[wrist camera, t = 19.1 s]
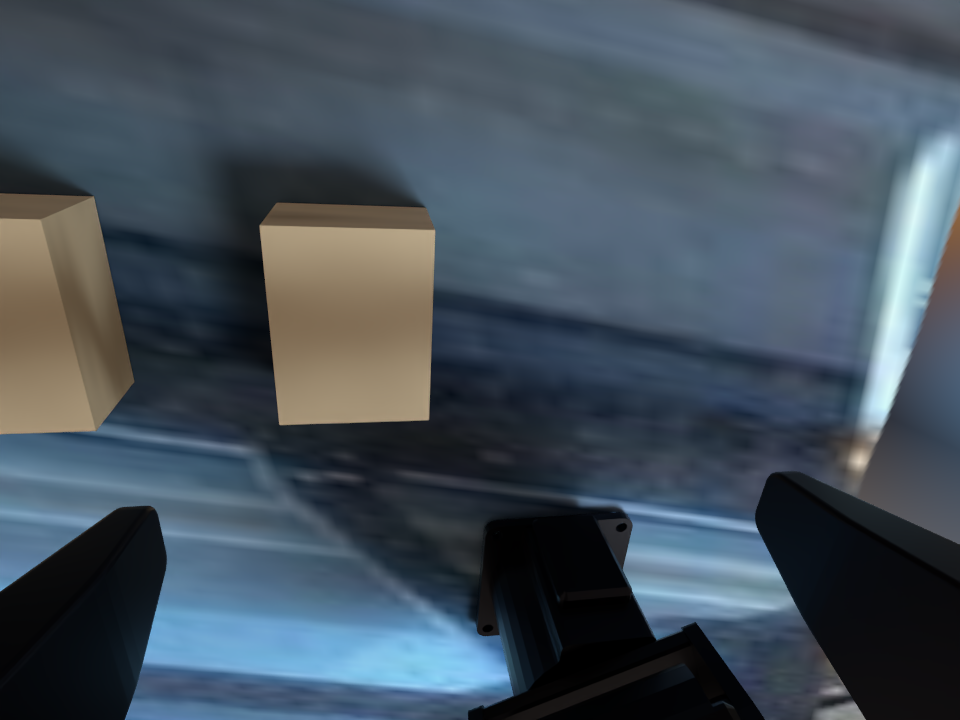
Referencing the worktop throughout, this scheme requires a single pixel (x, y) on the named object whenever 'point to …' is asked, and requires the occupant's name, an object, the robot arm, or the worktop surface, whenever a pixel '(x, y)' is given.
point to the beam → (291, 308)
